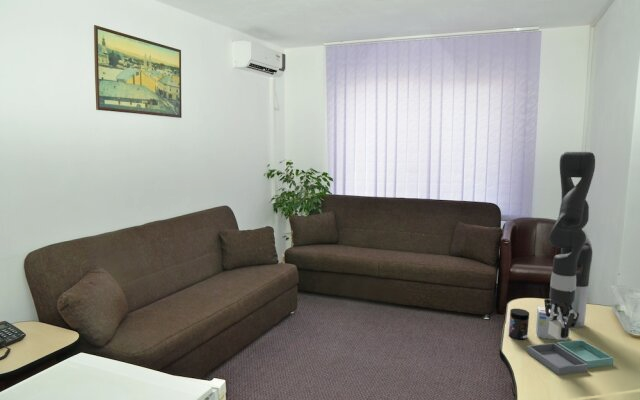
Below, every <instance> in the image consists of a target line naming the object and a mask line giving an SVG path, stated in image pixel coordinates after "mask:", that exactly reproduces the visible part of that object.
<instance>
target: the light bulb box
mask: <svg viewBox="0 0 640 400" xmlns="http://www.w3.org/2000/svg"><path fill="white" fill-rule="evenodd" d="M536 311H537V312H536V321H535V322H536V323H535V335H536V337H537V338H543V339H551V340H557V341H562V342H566V341H568V338H563V339H556V338H555V337H553V336H552V335H550V334H548V328H549V321H550V319H549V317H547V316H546V312H545V306H539V305H538V306H537V309H536ZM549 313H550V309H549ZM566 317H567V316H565V317H563V318H566ZM558 320H560V319H559V317H558ZM565 323H566V321H565Z"/></svg>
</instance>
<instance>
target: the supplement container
mask: <svg viewBox="0 0 640 400" xmlns="http://www.w3.org/2000/svg"><path fill="white" fill-rule="evenodd" d="M529 321H530V312H529V311H528V310H526V309H522V308H511V309H510V312H509V324H508V325H509V326H508V337H509V338H511V339H514V340H518V341H526V340H527V339H528V335H529Z"/></svg>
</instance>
